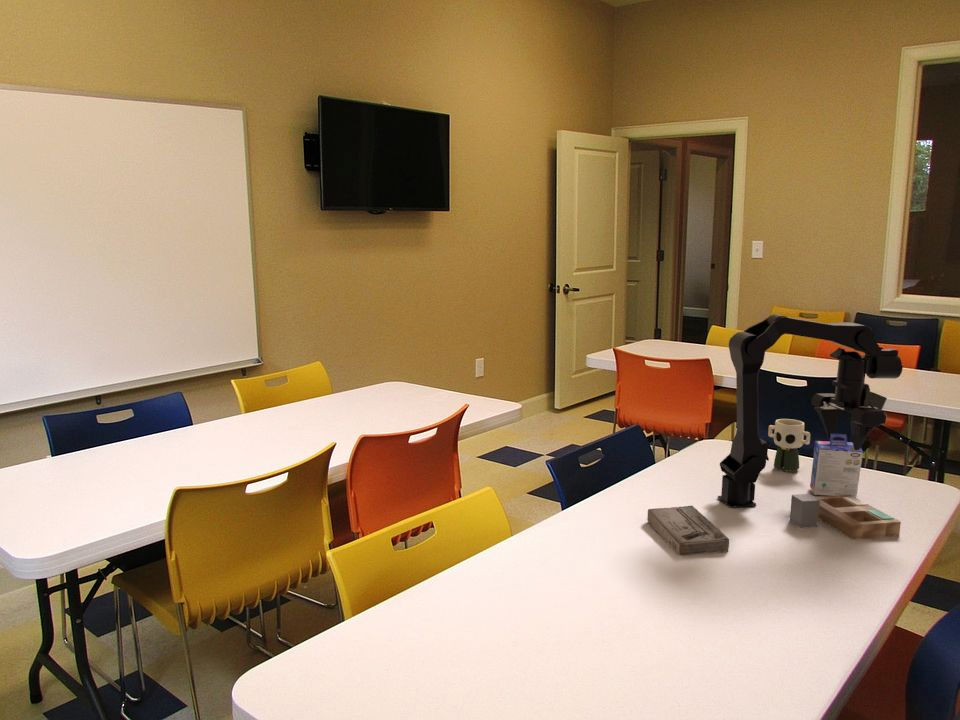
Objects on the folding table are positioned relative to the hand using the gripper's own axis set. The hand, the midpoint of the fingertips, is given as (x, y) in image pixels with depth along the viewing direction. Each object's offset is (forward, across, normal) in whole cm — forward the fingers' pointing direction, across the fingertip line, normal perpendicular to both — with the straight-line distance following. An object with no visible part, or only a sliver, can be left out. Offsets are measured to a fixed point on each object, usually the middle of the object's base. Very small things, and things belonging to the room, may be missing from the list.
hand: (843, 444), depth 172 cm
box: (+15, -13, +44) cm, 49 cm away
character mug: (+14, +22, -1) cm, 26 cm away
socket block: (+14, -13, +6) cm, 20 cm away
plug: (+14, -12, +16) cm, 24 cm away
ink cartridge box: (+13, +4, -2) cm, 14 cm away
